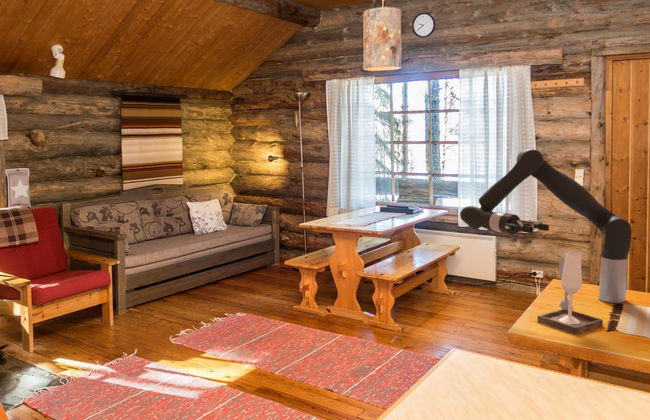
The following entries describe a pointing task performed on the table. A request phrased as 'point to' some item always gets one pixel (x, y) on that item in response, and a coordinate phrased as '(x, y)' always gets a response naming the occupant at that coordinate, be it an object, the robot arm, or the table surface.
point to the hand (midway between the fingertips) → (540, 229)
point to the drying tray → (583, 326)
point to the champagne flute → (571, 282)
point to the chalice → (564, 302)
